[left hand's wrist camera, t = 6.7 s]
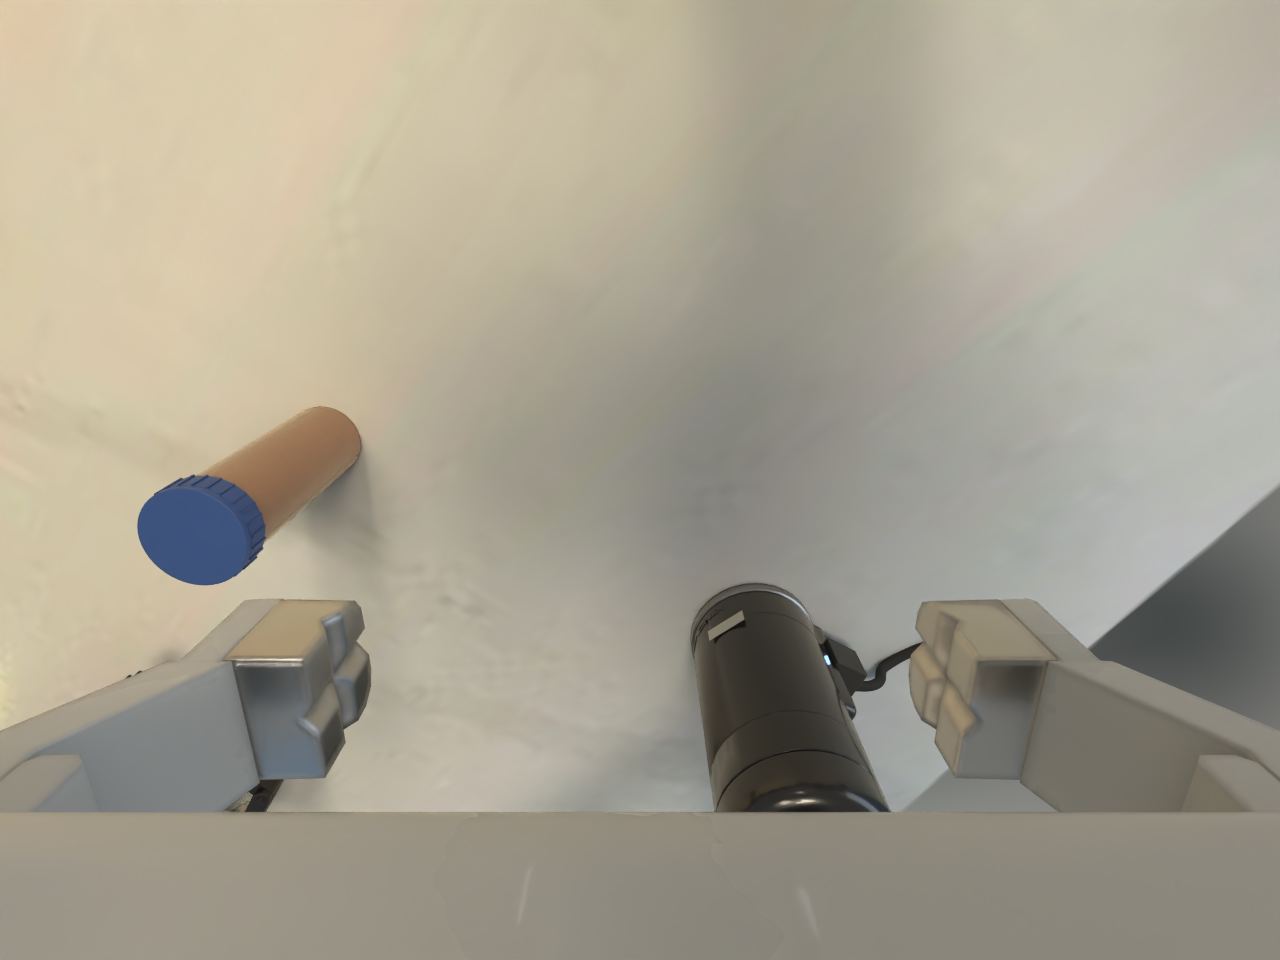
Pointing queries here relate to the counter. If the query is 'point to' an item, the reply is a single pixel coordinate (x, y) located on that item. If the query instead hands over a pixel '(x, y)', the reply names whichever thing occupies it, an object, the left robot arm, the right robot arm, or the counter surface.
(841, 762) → the right robot arm
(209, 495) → the lid
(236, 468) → the jar
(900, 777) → the counter surface
